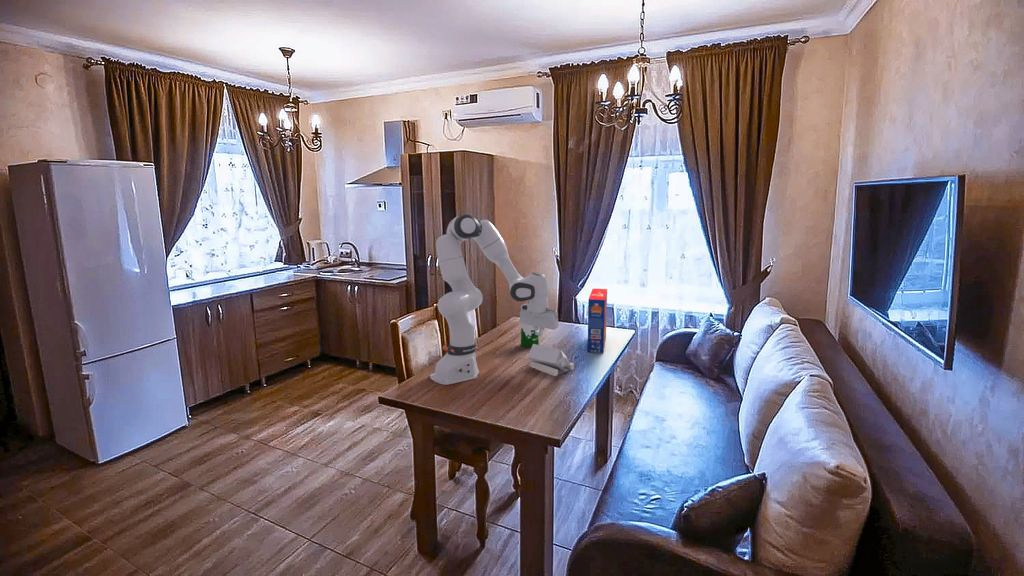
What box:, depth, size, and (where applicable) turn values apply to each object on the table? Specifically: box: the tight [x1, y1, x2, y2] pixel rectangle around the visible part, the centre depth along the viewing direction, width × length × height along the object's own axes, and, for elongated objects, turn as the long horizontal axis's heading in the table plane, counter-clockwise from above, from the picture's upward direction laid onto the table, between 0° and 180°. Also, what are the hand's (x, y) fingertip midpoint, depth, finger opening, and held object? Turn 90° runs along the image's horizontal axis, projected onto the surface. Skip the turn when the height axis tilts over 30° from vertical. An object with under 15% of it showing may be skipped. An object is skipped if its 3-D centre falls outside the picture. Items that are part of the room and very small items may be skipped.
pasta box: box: [587, 288, 608, 354], centre depth 256 cm, size 28×8×28 cm, turn 166°
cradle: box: [529, 360, 575, 377], centre depth 225 cm, size 13×16×2 cm
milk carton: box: [527, 344, 572, 369], centre depth 224 cm, size 7×7×19 cm
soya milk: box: [520, 322, 540, 349], centre depth 257 cm, size 9×9×20 cm
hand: (538, 335), depth 229 cm, fingers closed
